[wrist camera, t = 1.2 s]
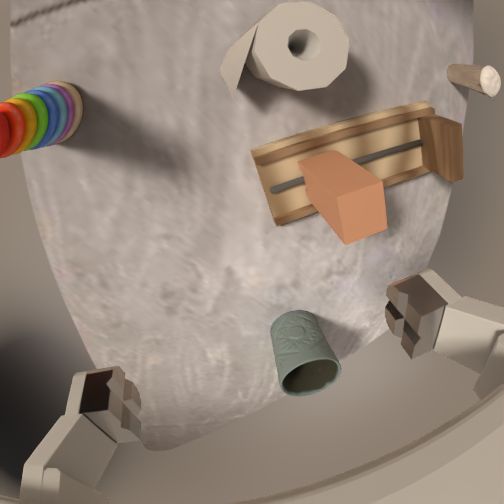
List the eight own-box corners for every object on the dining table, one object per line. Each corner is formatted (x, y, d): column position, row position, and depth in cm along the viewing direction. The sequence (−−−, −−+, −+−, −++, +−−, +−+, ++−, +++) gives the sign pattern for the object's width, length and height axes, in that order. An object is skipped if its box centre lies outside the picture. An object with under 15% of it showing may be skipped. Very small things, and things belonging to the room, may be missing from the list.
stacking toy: (96, 116, 31) (21, 159, 16) (50, 154, 32) (-31, 220, 17) (65, 67, 27) (-27, 76, 12) (21, 108, 28) (-75, 148, 12)
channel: (274, 222, 44) (290, 254, 37) (250, 149, 37) (263, 169, 31) (430, 167, 43) (464, 187, 36) (424, 101, 37) (462, 112, 30)
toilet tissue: (203, 76, 32) (205, 76, 24) (279, 1, 28) (303, -16, 20) (260, 123, 36) (277, 136, 29) (331, 51, 32) (366, 49, 25)
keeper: (307, 197, 41) (345, 245, 31) (296, 159, 38) (336, 197, 28) (341, 185, 40) (387, 228, 30) (333, 148, 37) (382, 181, 27)
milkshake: (437, 78, 35) (485, 88, 26) (450, 54, 33) (498, 61, 24) (453, 96, 36) (499, 110, 28) (465, 72, 34) (511, 83, 26)
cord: (270, 193, 40) (271, 195, 39) (268, 186, 39) (269, 189, 38) (421, 143, 39) (424, 145, 38) (420, 138, 39) (424, 139, 38)
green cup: (298, 349, 60) (316, 398, 50) (254, 339, 56) (268, 394, 46) (329, 313, 55) (353, 363, 46) (283, 299, 52) (304, 355, 42)
